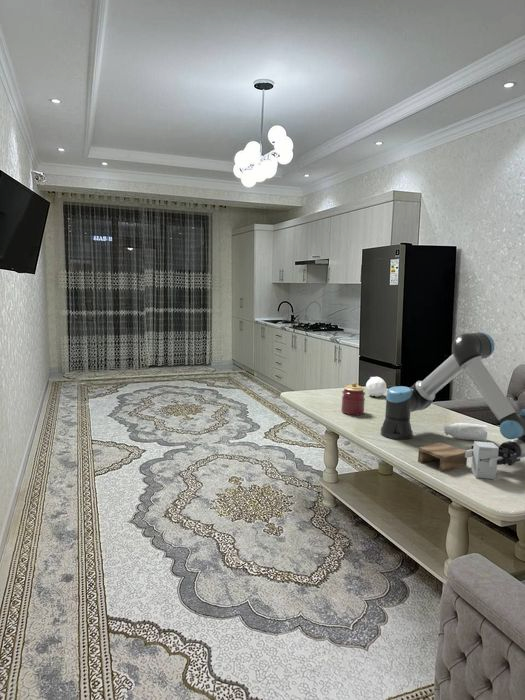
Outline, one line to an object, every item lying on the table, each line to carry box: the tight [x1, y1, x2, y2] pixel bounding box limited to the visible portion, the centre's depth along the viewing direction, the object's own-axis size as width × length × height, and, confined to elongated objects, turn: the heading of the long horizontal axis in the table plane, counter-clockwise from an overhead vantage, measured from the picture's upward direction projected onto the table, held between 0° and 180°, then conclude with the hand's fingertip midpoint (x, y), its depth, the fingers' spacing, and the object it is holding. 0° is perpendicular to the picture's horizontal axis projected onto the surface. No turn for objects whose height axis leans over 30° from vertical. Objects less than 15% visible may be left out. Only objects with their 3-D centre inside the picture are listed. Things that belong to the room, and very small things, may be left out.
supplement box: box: [470, 440, 499, 480], centre depth 189 cm, size 7×7×13 cm
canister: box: [341, 382, 366, 416], centre depth 278 cm, size 13×13×18 cm
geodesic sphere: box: [365, 375, 387, 398], centre depth 322 cm, size 14×14×14 cm
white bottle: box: [443, 422, 489, 442], centre depth 235 cm, size 8×19×8 cm, turn 76°
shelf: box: [417, 442, 468, 473], centre depth 201 cm, size 13×14×6 cm
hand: (477, 458), depth 187 cm, fingers closed on supplement box, 10 cm apart
